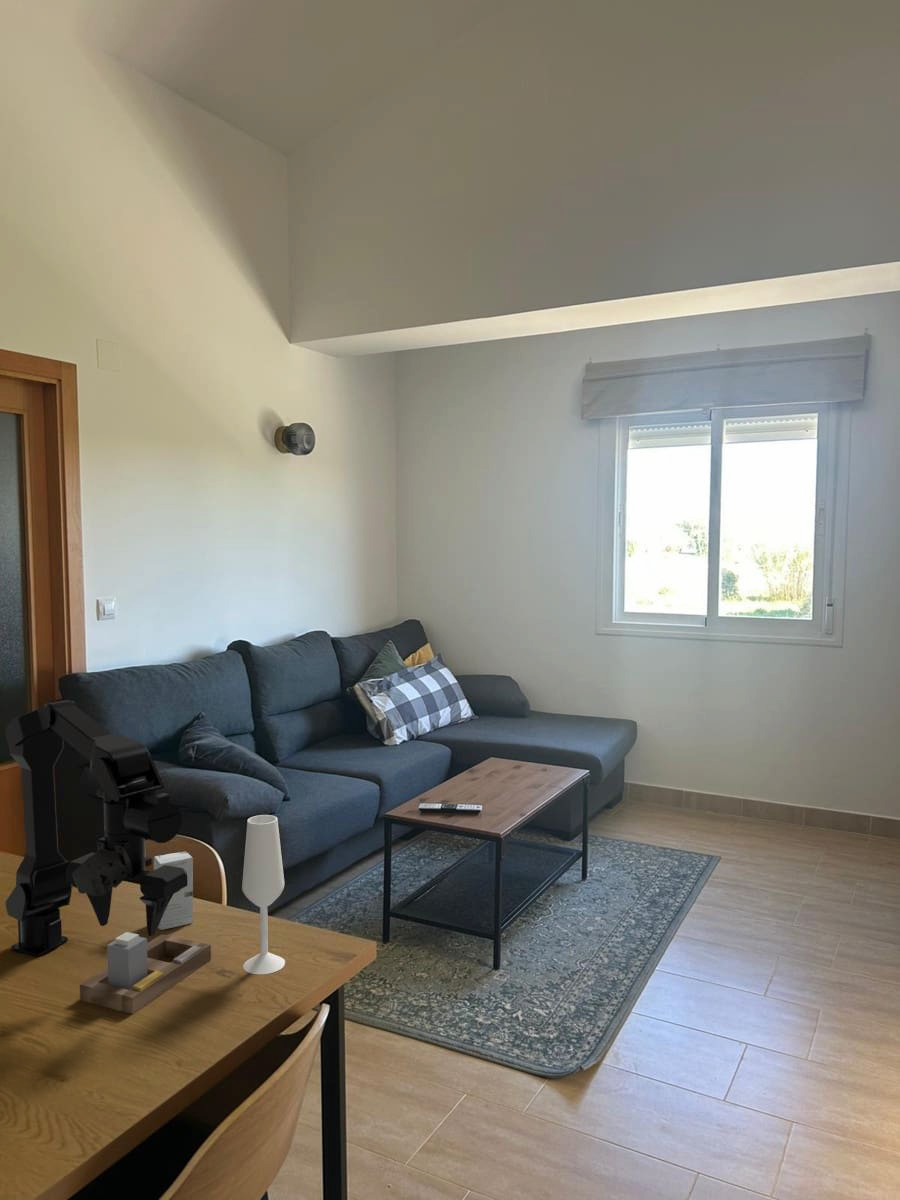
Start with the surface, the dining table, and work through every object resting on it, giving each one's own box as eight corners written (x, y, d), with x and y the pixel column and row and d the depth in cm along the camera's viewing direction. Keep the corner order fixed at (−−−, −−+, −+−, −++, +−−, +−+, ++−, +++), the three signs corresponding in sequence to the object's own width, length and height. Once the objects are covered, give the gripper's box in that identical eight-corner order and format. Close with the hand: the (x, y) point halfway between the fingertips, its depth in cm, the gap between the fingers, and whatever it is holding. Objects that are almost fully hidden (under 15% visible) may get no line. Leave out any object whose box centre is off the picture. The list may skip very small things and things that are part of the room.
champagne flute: (293, 963, 143) (292, 818, 141) (260, 978, 138) (258, 829, 136) (267, 950, 147) (265, 810, 145) (234, 965, 142) (232, 820, 140)
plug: (108, 996, 132) (106, 939, 132) (127, 984, 136) (126, 928, 135) (129, 1001, 131) (128, 944, 130) (147, 989, 134) (146, 933, 134)
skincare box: (160, 931, 154) (158, 864, 153) (153, 922, 158) (151, 856, 157) (194, 923, 158) (193, 857, 157) (187, 914, 161) (186, 849, 161)
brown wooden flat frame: (80, 1000, 131) (79, 981, 131) (162, 948, 148) (161, 932, 147) (132, 1014, 127) (132, 994, 127) (211, 959, 144) (210, 942, 144)
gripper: (34, 837, 128) (38, 942, 129) (135, 854, 120) (138, 965, 121) (92, 815, 138) (95, 912, 139) (188, 830, 131) (190, 932, 132)
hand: (127, 930), depth 132 cm, fingers open, 9 cm apart
